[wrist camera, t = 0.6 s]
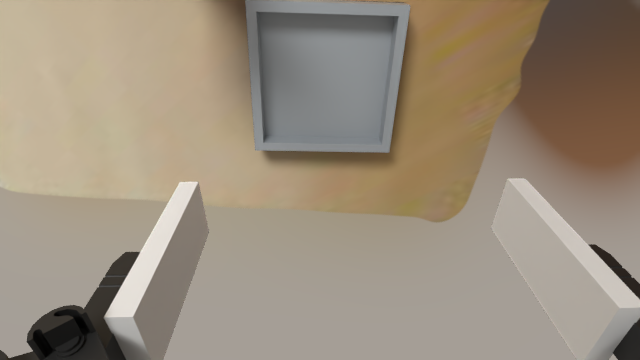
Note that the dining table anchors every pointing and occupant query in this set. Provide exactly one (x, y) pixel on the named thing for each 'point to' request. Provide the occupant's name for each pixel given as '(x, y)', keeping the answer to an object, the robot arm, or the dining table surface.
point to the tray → (325, 73)
